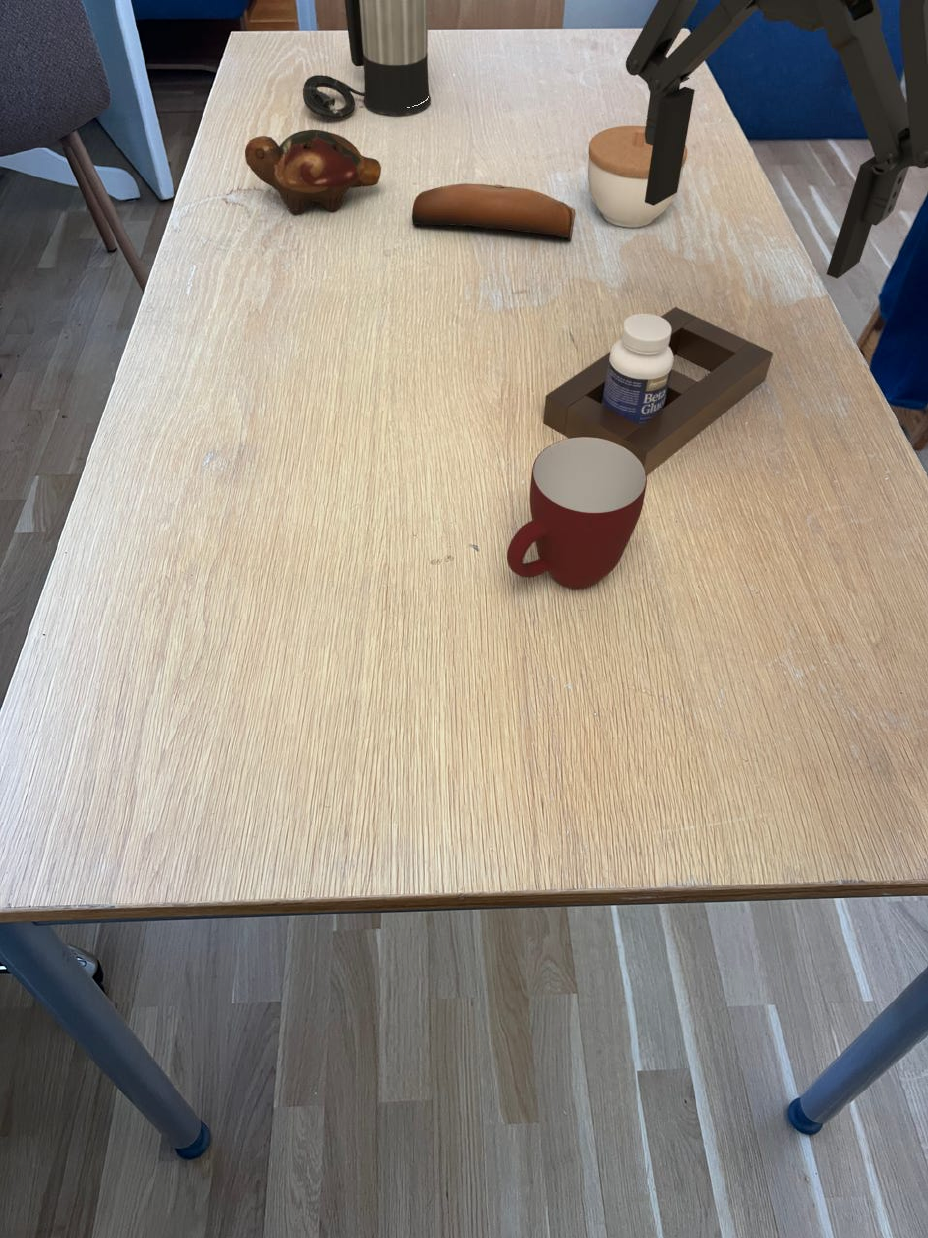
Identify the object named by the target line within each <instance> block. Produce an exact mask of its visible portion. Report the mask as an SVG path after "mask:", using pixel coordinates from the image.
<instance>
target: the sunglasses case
mask: <svg viewBox="0 0 928 1238" xmlns="http://www.w3.org/2000/svg"><path fill="white" fill-rule="evenodd" d="M411 212H412V213H411V223H412V226H414V225H429V226H451V225H453V226H457V227H458V226H461V227H462V226H473V227H476V228H477V227H478V228H485V229H494V230H510V231H514V232H522V233H532V234H541V235H542V234H543V235H550V236H558V237H564V238H565V237H566V239H568V240H569V241H572V237H573V232H574V225H575V218H576V210H575V208H574V207H573V206H572V207H571V206H570V205H568V204H567V203H565V202H562V201H560V200H557V199H555V198H554V197H551V196H549V195H548V194H545V193H542V192H541V191H537V190H534V189H529V188H524V187H517V186H507V185H506V186H505V185H503V184H494V185H493V184H486V183H468V182H467V183H466V182H465V183H464V182H463V183H454V184H448V185H444V186H443V185H442V186H437V187H433V188H431V189H427V190H424V191H421V192H420V193H419V194H418V195H416V197H415V198H414V201H413V205H412V211H411Z"/></svg>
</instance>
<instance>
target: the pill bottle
mask: <svg viewBox="0 0 928 1238" xmlns="http://www.w3.org/2000/svg"><path fill="white" fill-rule="evenodd" d="M670 336H671V326H670V324H669V323H668V322H667V321H666V320H665V319H663V318H661V316H658V315H655V314H650V313H637V314H636V313H635V314H633V315H630V316H629V317H627V318H625V319H624V322H623V324H622V330H621V334H620V339H618V340H617V341H616V342H615V343H614V344H613V346H612V347H611V349H610V351H611V352H610V351H609V352H610V357H609V362H608V369H607V375H606V381H605V387H604V393H603V399H602V405H604V406H605V407H607V408H609V409H611V410H613V411H615V412H616V413H618V414H620V415H622V416H624V417H626V418H627V419H629V420H631V421H633V422H635V423H636V424H638V425H640V426H641V425H643V424H644V423H645V422H647V421H648V420H649V419H651V418H652V417H653V416H654V415H656V414H657V413H658V412H660V411H661V410H662V409H663V407H664V402H665V398H666V393H667V389H668V384H669V380H670V375H671V371H672V369H673V365H674V356H673V353H672V351H671V349H670V347H669V346H668V345H669V342H670Z"/></svg>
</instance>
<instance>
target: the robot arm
mask: <svg viewBox="0 0 928 1238" xmlns="http://www.w3.org/2000/svg"><path fill="white" fill-rule="evenodd" d="M698 2H699V0H657V2H656V4H655V6H654V8H653V9H652V11H651V13H650V15H649V17H648V19H647V20H646V22H645V24H644V26H643V28H642V30H641V32H640V34H639V36H638V37H637V39H636V41H635V43H634V44H633V46H632V48H631V50H630V51H629V54H628V55H627V57H626V60H625V69H626V72H627V73H628V74H629V75H631V76H633V77H635V76H638V77H640V78H641V79H642V80H643V81H644V82H645V83H646V84H647V87H648V88H647V89H648V90H649V98H648V99H649V100H648V105H647V107H648V109H647V113H646V121H645V126H646V128H645V141H646V143H647V144H649V145H652V146H653V148H652V155H651V162H650V169H649V176H648V182H647V189H646V196H645V203H648V204H650V205H653V206H654V205H656V204H658V203H660V202H661V201H663V200H665V199H667V198H668V197H670V196H672V195H674V194H675V193H676V194H677V193H678V189H679V187H678V184H679V178H680V173H681V167H682V161H683V155H684V149H685V145H687V137H688V131H689V127H690V120H691V114H692V108H693V103H694V98H695V97H694V96H695V91H696V90H695V88H691V87H687V86H683V87H681V84H682V83H684V82H686V81H688V80H690V78H691V77H690V76H691V75H692V74H693V73H694V72H695V71H696V70H697V69H698V68H699V67H700V66H701V65H702V64H703V63H704V62H705V61H706V60H707V59H708V58H709V57H710V56H711V55H712V54H713V53H714V52H715V51H716V50H717V49H718V48H719V47H720V46H721V45H722V44H723V43H725V42H726V40H727V39H728V38H729V37H731V36H732V35H733V34H734V32H736V31H737V30H738V29H739V28H740V27H741V26H742V25H743V24H744V23H745V22H746V21H747V20H748V19H749V18H750V17H751V16H752V15H753V14H754V13H755V12H757V11H758V10H759V11H760V13H762V15H763V16H762V19H763V20H765V21H769V22H773V23H780V22H789V23H791V25H793V26H795V27H796V28H798V29H800V30H802V31H807V32H810V33H814V32H817V31H818V30H823V29H824V32H825V35H826V38H827V40H828V43H829V45H830V47H831V48H832V50H835V51H836V52H837V53H838V56H839V59H840V61H841V65H842V67H843V69H844V73H845V76H846V78H847V81H848V83H849V86H850V89H851V92H852V96H853V98H854V101H855V104H856V107H857V109H858V112H859V115H860V118H861V121H862V123H863V126H864V129H865V132H866V135H867V137H868V140H869V144H870V146H871V149H872V152H873V154H874V156H872V157H871V158H869V159H867V160H866V161H864V162H863V163H862V164H861V165H859V168H858V172H857V175H856V177H855V181H854V184H853V187H852V190H851V194H850V198H849V200H848V203H847V207H846V209H845V213H844V217H843V220H842V223H841V226H840V229H839V233H838V235H837V239H836V241H835V245H834V248H833V252H832V254H831V258H830V262H829V265H828V267H827V272H826V276H830V277H832V278H835V279H839V278H841V277H842V276H844V275H845V274H846V273H847V272H848V271H850V270H851V269H852V268H854V267H855V266H856V265H858V264H859V263H860V262H861V259H862V256H863V253H864V250H865V248H866V244H867V241H868V238H869V236H870V232H871V229H872V227H873V226H875V227H877V226H878V225H879V224H881V223H882V222H883V221H885V220H886V219H888V218H889V216H890V215H891V214H892V213H893V212H894V210H895V207H896V205H897V202H898V199H899V197H900V194H901V190H902V188H903V186H904V182H905V179H906V176H907V173H908V170H909V169H910V167H911V168H912V167H917V168H919V169H926V168H928V0H900V2H899V12H898V13H899V15H898V17H899V18H898V19H899V20H898V21H899V32H900V33H899V35H900V44H901V54H902V65H903V75H904V76H903V77H904V87H905V96H904V93H903V90H902V87H901V84H900V81H899V79H898V75H897V73H896V70H895V67H894V63H893V61H892V57H891V55H890V52H889V49H888V46H887V43H886V40H885V37H884V34H883V31H882V23H883V15H882V12H881V9H880V5H879V3H878V1H877V0H719V3H718V4H717V5H716V6H715V7H714V8H713V10H711V12H709V14H708V15H707V16H706V17H705V18H704V19H703V20H702V21H701V22H700V23H699V24H698V25H697V26H696V27H695V28H694V29H693V31H692V32H690V33H689V35H688V36H686V37H685V39H683V41H681V42H680V44H678V46H677V47H676V48H675V49H674V50H673V51H672V52H671V53H670V54H669V55H668V53H669V51H670V50H671V48H672V47H673V45H674V44H675V41H676V40H677V38H678V37H679V34H680V33H681V31H682V29H683V28H684V26H685V24H686V23H687V21H688V19H689V17H690V16H691V14H692V13H693V10H694V8H695V7H696V5H697V3H698ZM667 55H668V56H667ZM905 97H906V98H905ZM679 185H680V184H679ZM676 194H675V195H676Z"/></svg>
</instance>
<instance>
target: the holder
mask: <svg viewBox="0 0 928 1238" xmlns="http://www.w3.org/2000/svg"><path fill="white" fill-rule="evenodd" d="M660 317H661V318H663V319H665V320H666V321H667V322H668V323H669V324H670V326H671V336H670V342H669V345H668V346H669V347H670V349H671V351H672V353H673V357H674V356H675V355H677V356H680V357H681V358H683V359H685V360H687V361H689V362H691V363H693V364H696V365H698V366H699V367H702V368H704V369H705V370H707V371H709V372H710V373H708V374H707V375H705V376H704V377H703V378H702V379H700V380H699V381H697V380H695V379H694V378H691V377H689V376H687V375H686V374H683V373H682V372H679V371H678V370H675V369H674V368H672V371H671V375H670V380H669V384H668V389H667V393H666V398H665V402H664V407H663V409H662V410H661V411H660V412H658V413H657V414H656V415H654V416H653V417H652V418H651V419H649V420H648V421H647V422H645V423H644V424H643V425H641V426H640V425H638V424H636V423H635V422H633V421H631V420H629V419H627V418H626V417H624V416H622V415H620V414H618V413H616V412H615V411H613V410H611V409H609V408H607V407H605V406H604V405H602V399H603V393H604V387H605V381H606V375H607V369H608V362H609V357H610V352H611V350H610V351H609V352H607V353H606V354H604V355H603V356H601V357H600V358H599V359H597V360H596V361H594V362H593V363H591V364H590V365H588V366H586V367H585V368H583V370H581V371H579V372H578V373H576V374H575V375H574V376H573V377H571V378H569V379H568V380H567V381H565V382H564V383H562V384H561V385H559V386H558V387H556V388H555V389H553V390H552V391H550V392H549V393H547V394H546V395H545V396H544V397H545V399H544V409H543V420H542V421H543V424H545V425H546V426H548V427H550V428H551V429H553V430H554V431H557V432H558V433H560V434H562V435H564V437H567V439H569V438H576V437H593V438H600V439H605V440H608V441H612V442H614V443H617V444H619V445H621V446H623V447H625V448H626V449H628V450H630V451H631V452H632V453H633V454H635V455H636V456H637V457H638V459H639V460H640V461H641V462H642V464H643V466H644V468H645V470H646V474H647V476H648V475H649V474H651V473H652V472H653V471H654V470H656V469H657V468H659V466H661V465H662V464H663V463H665V462H666V461H667V460H668V459H669V458H670V457H672V456H673V455H674V454H676V453H677V452H678V451H679V450H680V449H682V448H683V447H684V446H685V445H687V444H688V443H689V442H690V441H692V440H693V439H694V438H695V437H696V436H698V435H699V434H700V433H702V432H703V431H704V430H705V429H706V428H708V427H709V426H710V425H711V424H713V423H714V422H716V420H717V419H719V418H721V416H722V415H724V414H725V413H726V412H727V411H729V410H730V409H731V408H732V407H734V406H735V405H736V404H738V402H740V401H741V400H742V399H744V398H745V397H746V396H747V395H748V394H750V393H751V392H752V391H753V390H754V389H756V388H757V387H759V386H760V385H761V384H762V383H763V382H765V381H766V379H767V377H768V376H767V375H768V372H769V370H770V369H769V368H770V366H771V362H772V359H773V356H774V352H772V351H770V350H768V349H767V348H764V347H762V346H760V345H757V344H755V343H754V342H751V341H749V340H747V339H745V338H743V337H741V336H738V335H736V334H735V333H732V332H729V331H728V330H726V329H724V328H722V327H719V326H718V325H716V324H713V323H711V322H709V321H707V320H704V319H702V318H700V317H699V316H696V315H694V314H692V313H690V312H688V311H685V310H683V309H681V308H679V307H676V306H675V307H673V308H672V309H669V311H667V312H665V313H664V314H663V315H661V316H660Z"/></svg>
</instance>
